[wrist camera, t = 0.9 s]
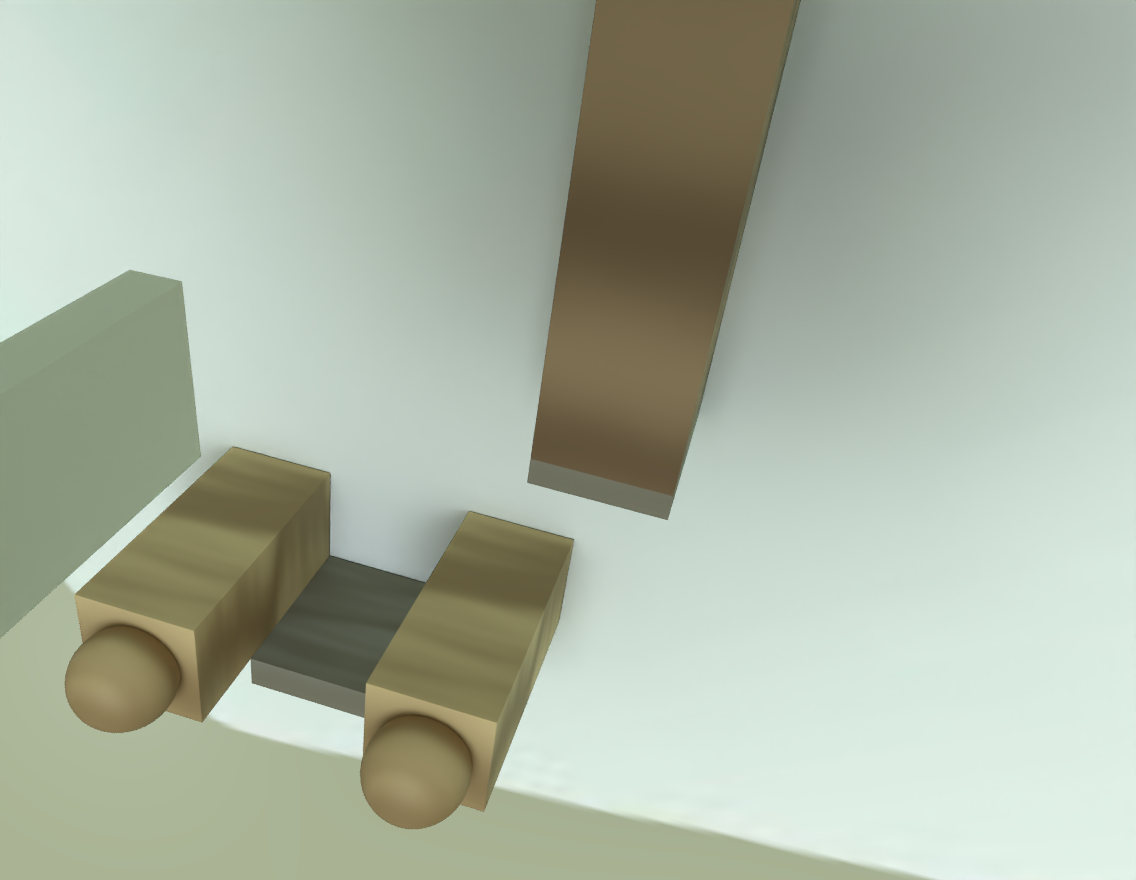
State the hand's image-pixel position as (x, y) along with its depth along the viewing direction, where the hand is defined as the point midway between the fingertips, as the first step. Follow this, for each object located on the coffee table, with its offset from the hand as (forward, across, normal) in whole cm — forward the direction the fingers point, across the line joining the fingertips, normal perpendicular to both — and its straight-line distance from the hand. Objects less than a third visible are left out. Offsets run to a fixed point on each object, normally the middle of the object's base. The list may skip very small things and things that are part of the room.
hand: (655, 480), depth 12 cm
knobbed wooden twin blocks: (+17, -10, -17) cm, 26 cm away
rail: (+18, -2, -1) cm, 18 cm away
